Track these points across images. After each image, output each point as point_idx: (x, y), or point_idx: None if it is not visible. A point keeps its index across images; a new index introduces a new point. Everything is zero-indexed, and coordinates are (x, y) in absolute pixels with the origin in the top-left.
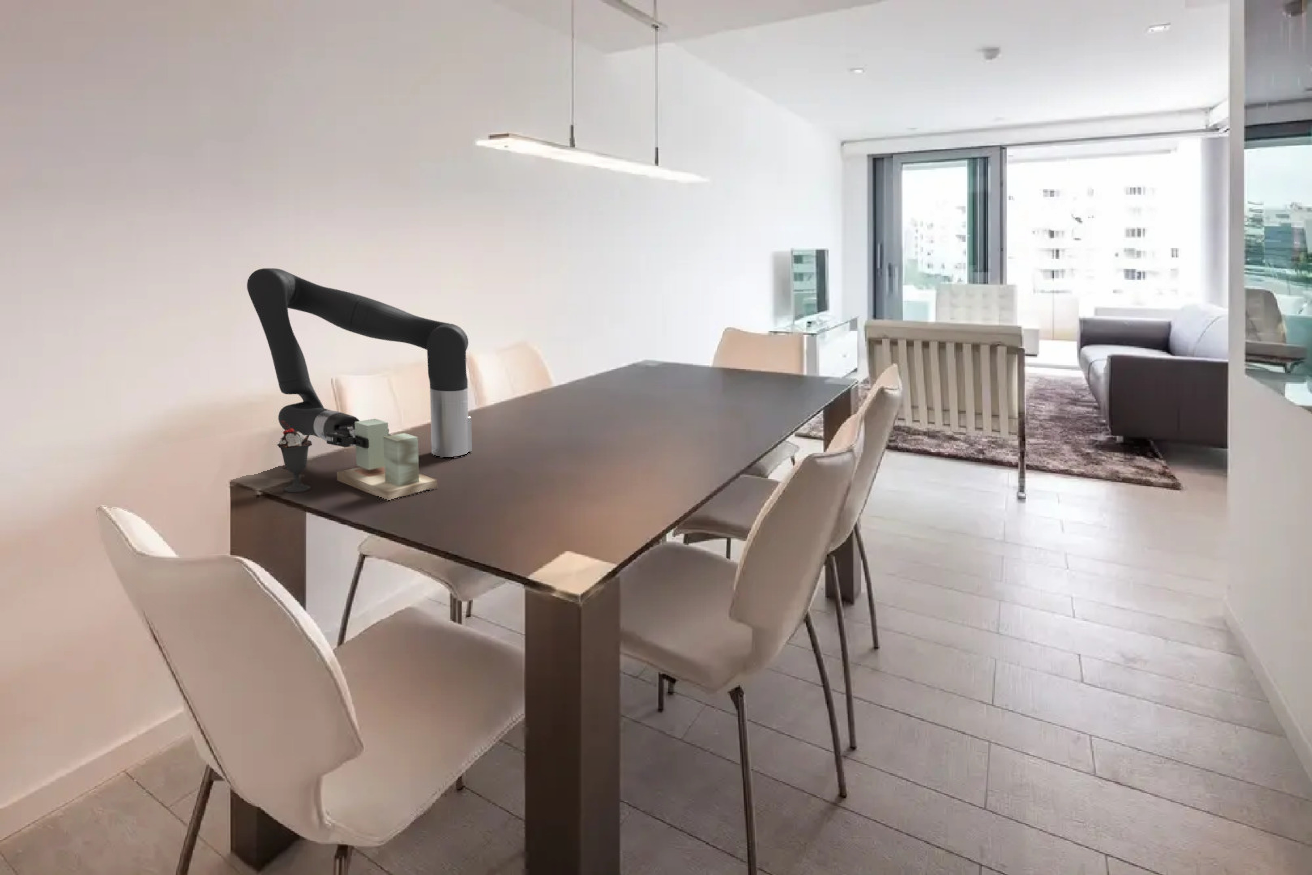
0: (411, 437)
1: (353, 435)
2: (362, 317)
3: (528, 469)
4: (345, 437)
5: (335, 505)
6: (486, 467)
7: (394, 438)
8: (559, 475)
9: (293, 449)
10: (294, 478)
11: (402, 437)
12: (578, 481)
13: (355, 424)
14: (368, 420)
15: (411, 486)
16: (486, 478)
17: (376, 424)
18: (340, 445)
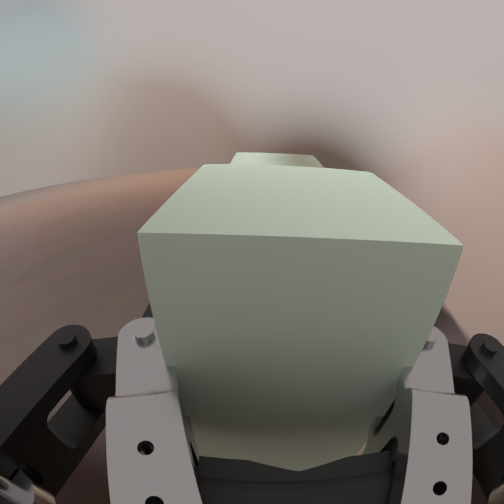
0: (254, 153)
1: (433, 331)
2: None
3: (20, 262)
4: (481, 342)
5: (439, 325)
6: (12, 307)
7: (305, 160)
8: (47, 233)
9: None
10: None
11: (276, 158)
12: (70, 216)
13: (446, 267)
14: (283, 217)
15: None
16: (86, 273)
17: (299, 167)
18: (478, 414)
